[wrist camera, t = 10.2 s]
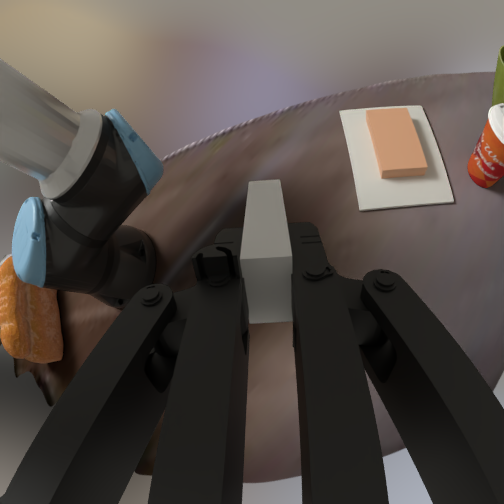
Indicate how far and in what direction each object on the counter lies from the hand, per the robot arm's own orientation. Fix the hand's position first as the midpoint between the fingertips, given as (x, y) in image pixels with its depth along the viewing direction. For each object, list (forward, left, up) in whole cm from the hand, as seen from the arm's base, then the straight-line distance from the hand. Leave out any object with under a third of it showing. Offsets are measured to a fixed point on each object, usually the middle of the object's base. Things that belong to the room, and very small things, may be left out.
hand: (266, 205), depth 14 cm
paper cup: (+19, +26, -26) cm, 41 cm away
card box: (+6, +18, -24) cm, 31 cm away
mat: (+4, +22, -26) cm, 34 cm away
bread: (-52, -36, -26) cm, 68 cm away
